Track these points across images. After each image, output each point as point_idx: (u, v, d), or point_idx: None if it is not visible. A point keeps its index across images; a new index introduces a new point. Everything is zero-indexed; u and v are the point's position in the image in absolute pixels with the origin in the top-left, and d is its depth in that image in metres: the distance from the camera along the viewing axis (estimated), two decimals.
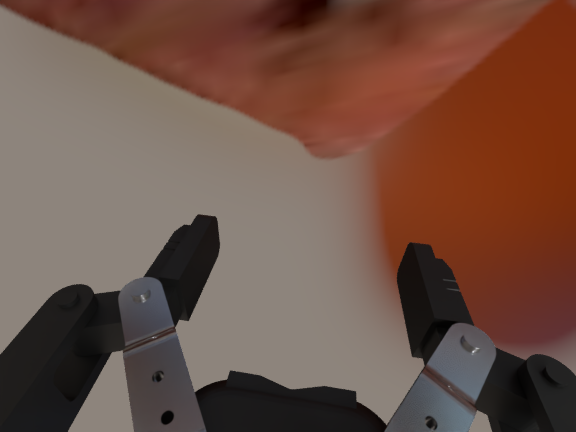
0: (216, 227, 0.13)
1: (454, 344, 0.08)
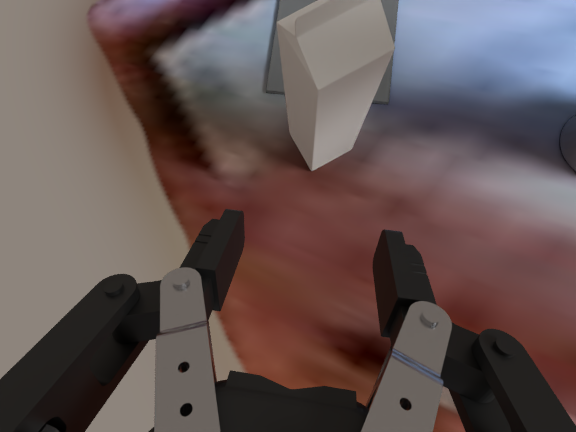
0: (242, 221, 0.13)
1: (415, 323, 0.09)
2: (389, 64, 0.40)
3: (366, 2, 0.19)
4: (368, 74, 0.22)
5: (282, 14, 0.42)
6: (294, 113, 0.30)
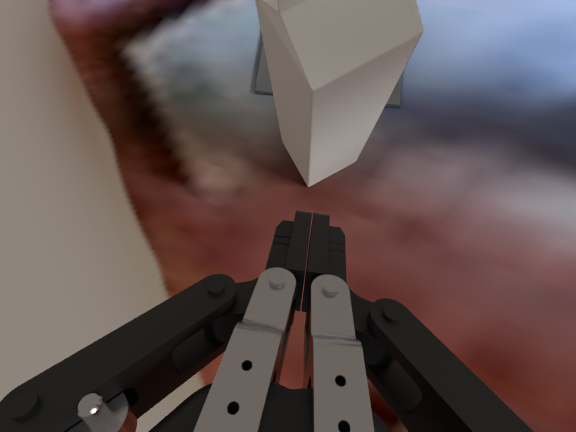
0: None
1: (320, 299, 0.09)
2: None
3: None
4: (383, 69, 0.16)
5: None
6: (285, 119, 0.24)
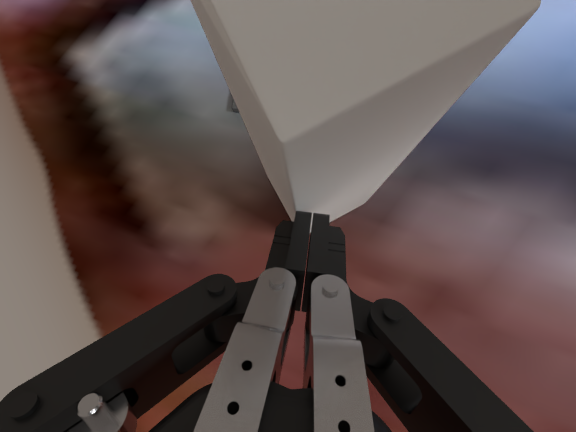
0: None
1: (320, 299, 0.09)
2: None
3: None
4: (436, 90, 0.07)
5: None
6: (262, 158, 0.16)
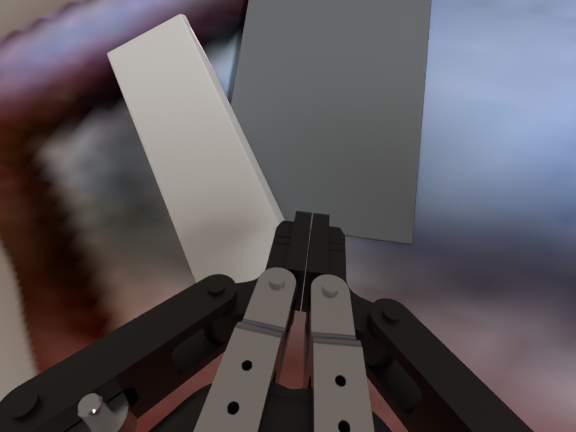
0: None
1: (320, 299, 0.09)
2: (412, 177, 0.24)
3: None
4: (165, 41, 0.21)
5: (240, 89, 0.26)
6: None
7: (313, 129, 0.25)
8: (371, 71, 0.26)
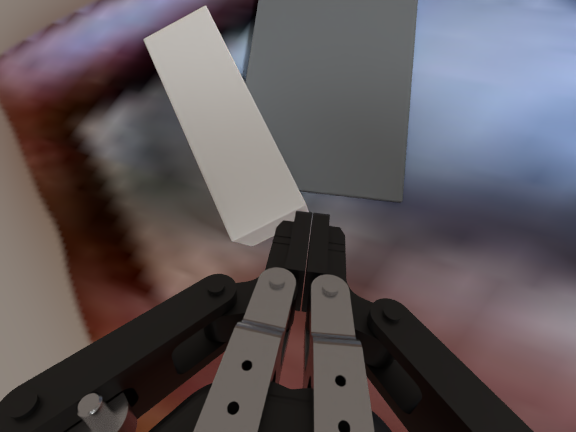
0: None
1: (320, 299, 0.09)
2: (402, 146, 0.28)
3: None
4: (193, 28, 0.25)
5: (253, 72, 0.30)
6: None
7: (316, 105, 0.29)
8: (366, 56, 0.30)
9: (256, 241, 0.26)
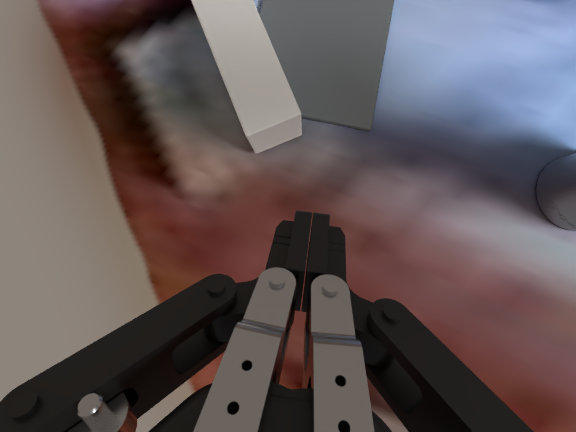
0: None
1: (320, 299, 0.09)
2: (375, 87, 0.37)
3: None
4: None
5: (264, 17, 0.37)
6: None
7: (313, 50, 0.37)
8: (355, 14, 0.38)
9: (260, 147, 0.34)
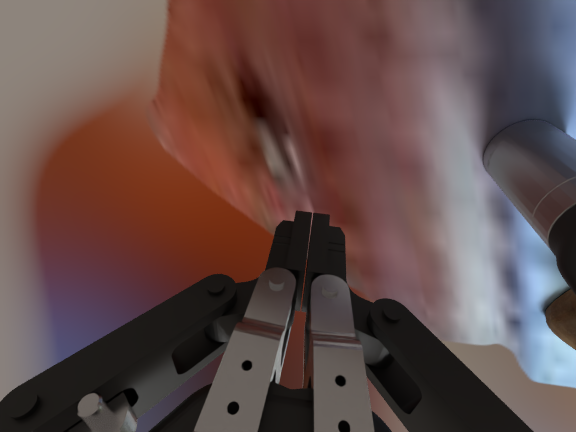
0: None
1: (320, 299, 0.09)
2: None
3: None
4: None
5: None
6: None
7: None
8: None
9: None
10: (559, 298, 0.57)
